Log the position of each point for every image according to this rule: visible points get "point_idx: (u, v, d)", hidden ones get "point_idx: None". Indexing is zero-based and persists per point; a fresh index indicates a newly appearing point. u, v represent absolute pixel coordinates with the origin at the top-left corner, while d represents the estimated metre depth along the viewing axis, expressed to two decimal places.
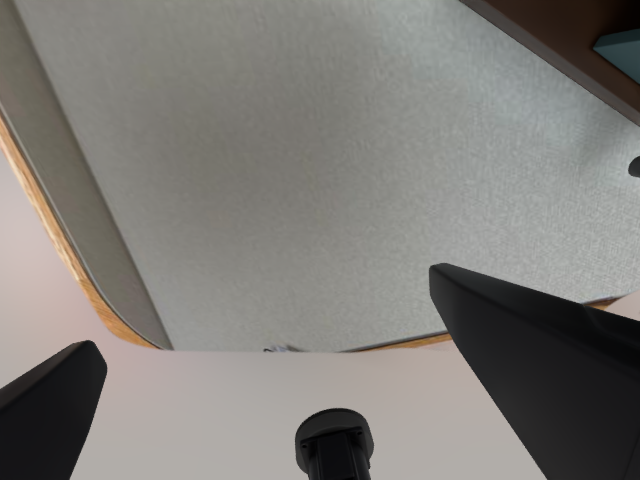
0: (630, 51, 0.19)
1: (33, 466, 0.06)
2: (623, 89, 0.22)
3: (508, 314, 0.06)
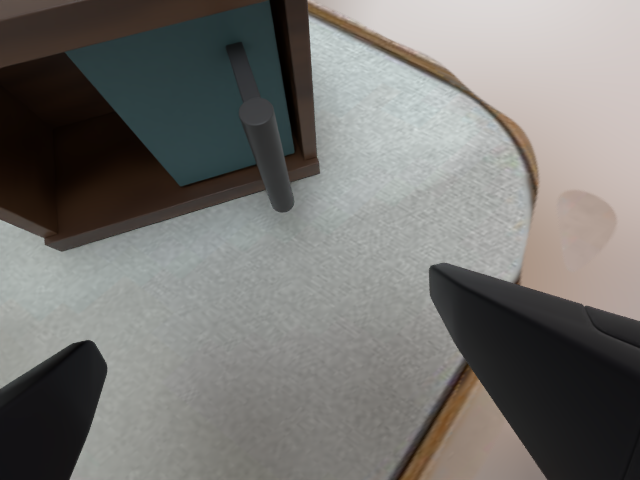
0: (180, 168, 0.22)
1: (33, 466, 0.06)
2: (241, 178, 0.24)
3: (508, 314, 0.06)
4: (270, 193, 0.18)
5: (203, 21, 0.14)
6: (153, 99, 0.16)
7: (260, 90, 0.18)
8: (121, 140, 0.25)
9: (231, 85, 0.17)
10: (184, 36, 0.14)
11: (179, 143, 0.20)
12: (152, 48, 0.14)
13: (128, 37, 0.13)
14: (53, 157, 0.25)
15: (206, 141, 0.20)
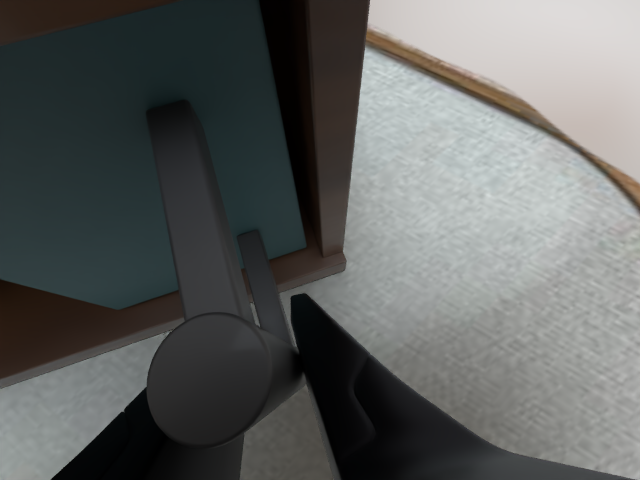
0: (110, 295, 0.12)
1: None
2: None
3: None
4: None
5: (57, 53, 0.05)
6: None
7: (244, 182, 0.09)
8: None
9: None
10: (11, 96, 0.05)
11: (93, 270, 0.10)
12: None
13: None
14: None
15: (148, 260, 0.11)
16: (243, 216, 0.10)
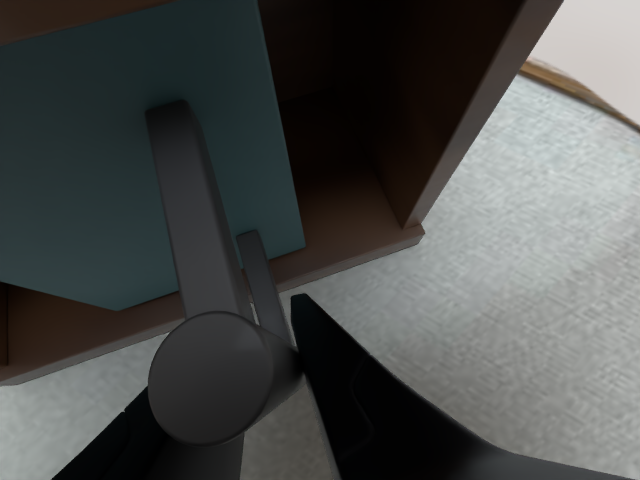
0: (109, 296, 0.12)
1: None
2: (305, 262, 0.15)
3: None
4: None
5: (55, 53, 0.05)
6: None
7: (243, 181, 0.09)
8: None
9: None
10: (10, 96, 0.05)
11: (93, 271, 0.10)
12: None
13: None
14: None
15: (147, 261, 0.11)
16: (242, 216, 0.10)
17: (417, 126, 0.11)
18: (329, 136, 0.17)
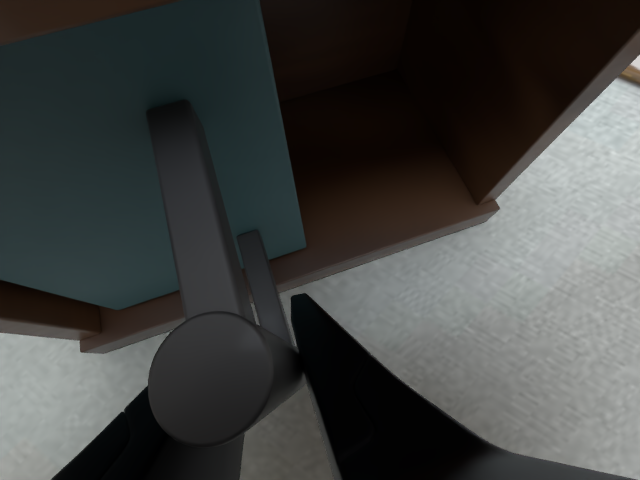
0: (109, 295, 0.12)
1: None
2: (385, 235, 0.15)
3: None
4: None
5: (58, 53, 0.05)
6: None
7: (244, 181, 0.09)
8: None
9: None
10: (12, 96, 0.05)
11: (93, 270, 0.10)
12: None
13: None
14: None
15: (148, 260, 0.11)
16: (243, 216, 0.10)
17: (523, 95, 0.11)
18: (397, 116, 0.18)
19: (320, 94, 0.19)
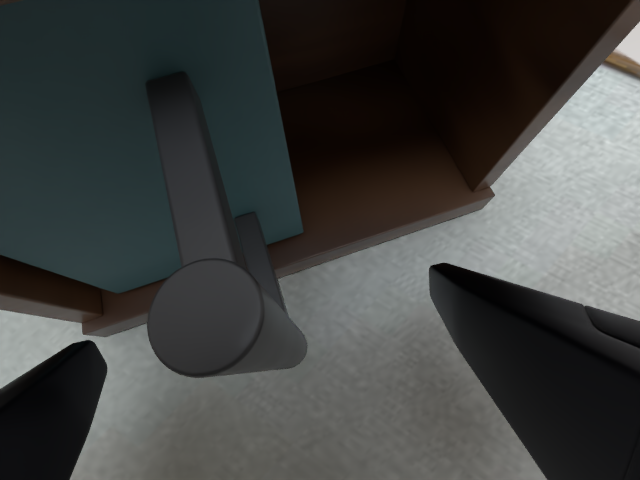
0: (110, 277, 0.13)
1: (33, 466, 0.06)
2: (381, 221, 0.16)
3: (508, 314, 0.06)
4: None
5: (61, 20, 0.05)
6: None
7: (241, 160, 0.09)
8: None
9: None
10: (18, 63, 0.05)
11: (95, 250, 0.11)
12: None
13: None
14: None
15: (147, 241, 0.11)
16: (240, 197, 0.11)
17: (516, 79, 0.11)
18: (395, 105, 0.18)
19: (318, 84, 0.19)
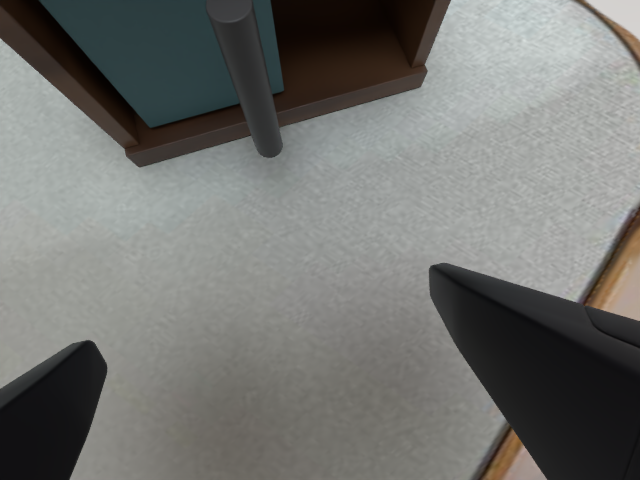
0: (148, 104, 0.18)
1: (33, 466, 0.06)
2: (342, 87, 0.21)
3: (508, 314, 0.06)
4: (253, 131, 0.15)
5: None
6: (100, 0, 0.13)
7: None
8: None
9: None
10: None
11: (143, 69, 0.16)
12: None
13: None
14: None
15: (176, 68, 0.17)
16: None
17: None
18: (359, 1, 0.23)
19: None
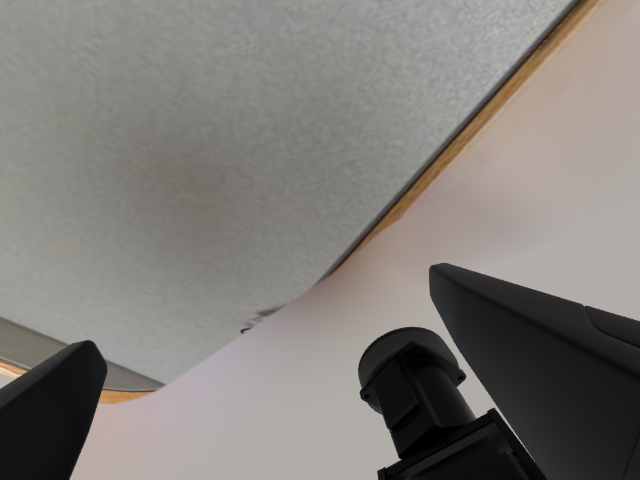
0: None
1: (33, 466, 0.06)
2: None
3: (508, 314, 0.06)
4: None
5: None
6: None
7: None
8: None
9: None
10: None
11: None
12: None
13: None
14: None
15: None
16: None
17: None
18: None
19: None
